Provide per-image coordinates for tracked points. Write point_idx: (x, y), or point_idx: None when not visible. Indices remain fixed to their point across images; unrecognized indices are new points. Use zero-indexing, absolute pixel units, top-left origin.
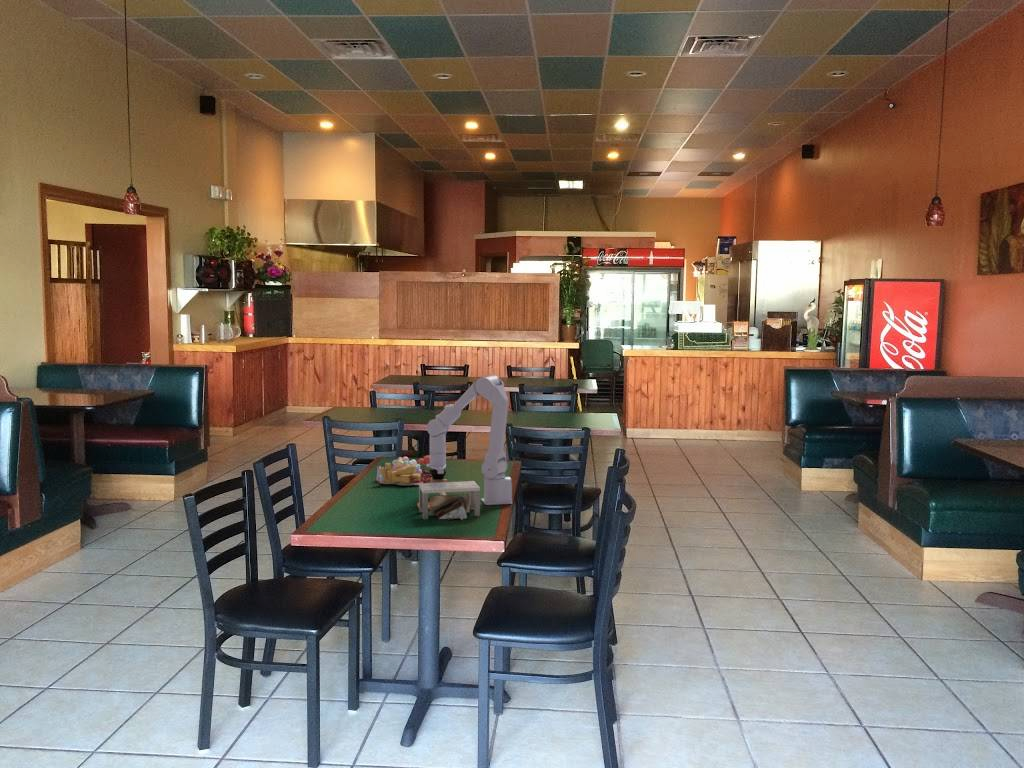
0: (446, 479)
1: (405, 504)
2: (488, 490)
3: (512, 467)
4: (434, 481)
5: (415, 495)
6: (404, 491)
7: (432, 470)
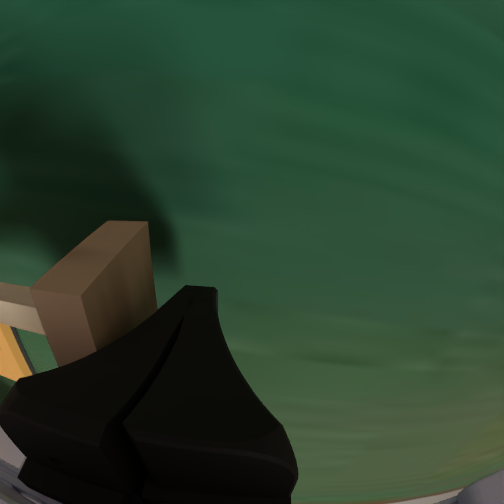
0: None
1: (21, 12)
2: (24, 460)
3: None
4: (52, 328)
5: (294, 83)
6: (462, 47)
7: (108, 471)
